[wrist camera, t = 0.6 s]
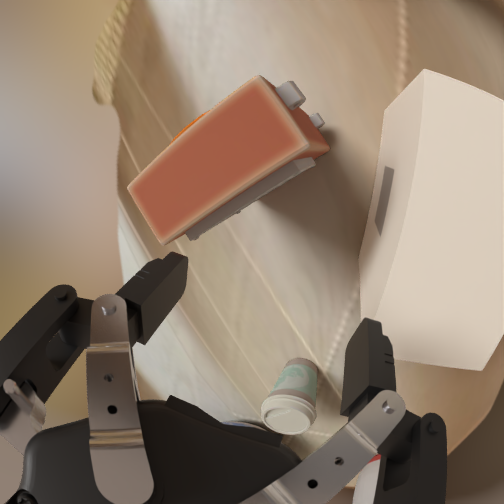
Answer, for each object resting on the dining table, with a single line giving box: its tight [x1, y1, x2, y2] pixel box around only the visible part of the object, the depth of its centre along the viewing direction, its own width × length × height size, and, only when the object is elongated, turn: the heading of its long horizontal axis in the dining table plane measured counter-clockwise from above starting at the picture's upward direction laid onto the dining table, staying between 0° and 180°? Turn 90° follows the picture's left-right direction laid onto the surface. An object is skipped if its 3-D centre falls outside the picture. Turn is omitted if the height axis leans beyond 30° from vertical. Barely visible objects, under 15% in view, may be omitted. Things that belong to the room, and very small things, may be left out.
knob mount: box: [358, 69, 504, 371], centre depth 23 cm, size 20×12×20 cm, turn 174°
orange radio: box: [127, 75, 330, 245], centre depth 26 cm, size 21×7×15 cm
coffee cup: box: [261, 358, 318, 435], centre depth 41 cm, size 9×8×12 cm
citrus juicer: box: [352, 454, 381, 504], centre depth 41 cm, size 16×17×20 cm
